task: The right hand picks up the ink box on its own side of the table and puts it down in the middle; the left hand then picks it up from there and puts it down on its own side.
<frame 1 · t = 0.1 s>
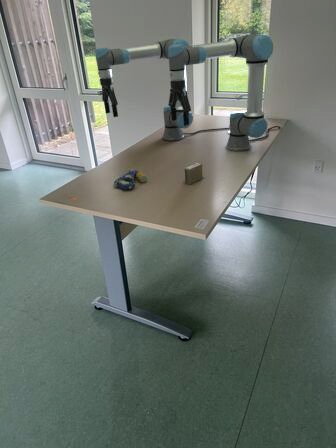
left hand: (111, 114, 206), 28 cm above the table, tool pointing down, fingers open, 13 cm apart
right hand: (180, 122, 178), 28 cm above the table, tool pointing down, fingers open, 13 cm apart
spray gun: (132, 182, 184), on the table
spoon: (234, 127, 260), on the table
ink box: (193, 180, 181), on the table
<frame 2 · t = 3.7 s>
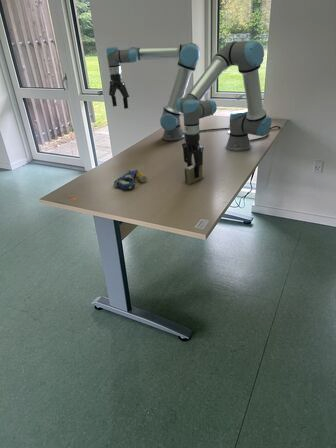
left hand: (120, 107, 229), 27 cm above the table, tool pointing down, fingers open, 13 cm apart
right hand: (193, 176, 179), 3 cm above the table, tool pointing down, fingers closed on ink box, 4 cm apart
ink box: (194, 180, 181), on the table, touching right hand
everything else where it was.
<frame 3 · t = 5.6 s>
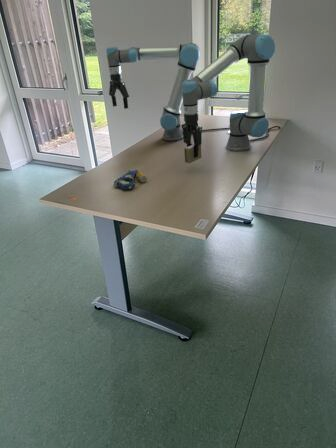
left hand: (120, 107, 229), 27 cm above the table, tool pointing down, fingers open, 13 cm apart
right hand: (193, 155, 187), 9 cm above the table, tool pointing down, fingers closed on ink box, 4 cm apart
ink box: (193, 160, 188), point 7 cm above the table, touching right hand
everything else where it was.
when the right hand's fingers open (4 cm above the table, at t = 7.9 s): ink box drops 1 cm, on the table.
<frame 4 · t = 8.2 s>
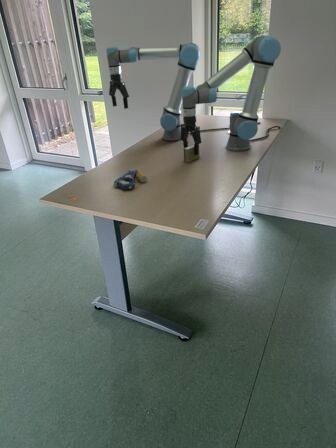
left hand: (120, 107, 229), 27 cm above the table, tool pointing down, fingers open, 13 cm apart
right hand: (191, 153, 205), 4 cm above the table, tool pointing down, fingers open, 8 cm apart
ink box: (191, 159, 207), on the table
everything else where it was.
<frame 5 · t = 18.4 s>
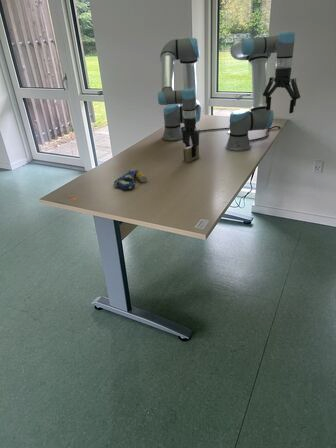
left hand: (191, 155, 206), 3 cm above the table, tool pointing down, fingers closed on ink box, 4 cm apart
right hand: (279, 111, 176), 29 cm above the table, tool pointing down, fingers open, 13 cm apart
ink box: (191, 159, 207), on the table, touching left hand
everything else where it was.
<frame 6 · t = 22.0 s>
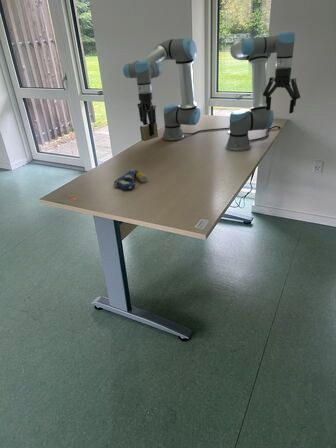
left hand: (149, 134, 195), 19 cm above the table, tool pointing down, fingers closed on ink box, 4 cm apart
right hand: (279, 111, 176), 29 cm above the table, tool pointing down, fingers open, 13 cm apart
ink box: (150, 138, 196), point 16 cm above the table, touching left hand
everything else where it was.
when the left hand's fingers open (4 cm above the table, at t = 25.6 s): ink box drops 1 cm, on the table.
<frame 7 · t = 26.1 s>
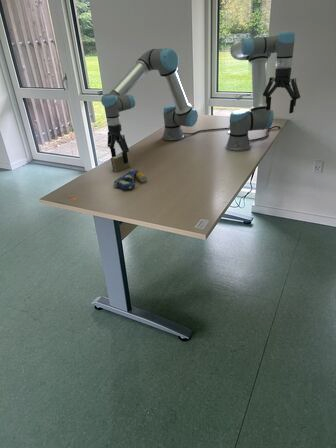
left hand: (120, 160, 201), 5 cm above the table, tool pointing down, fingers open, 11 cm apart
right hand: (279, 111, 176), 29 cm above the table, tool pointing down, fingers open, 13 cm apart
ink box: (121, 169, 203), on the table
everything else where it was.
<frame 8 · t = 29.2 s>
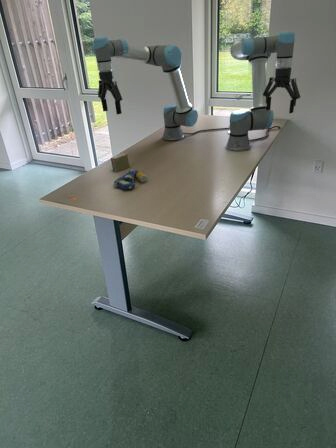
left hand: (112, 112, 186), 34 cm above the table, tool pointing down, fingers open, 13 cm apart
right hand: (279, 111, 176), 29 cm above the table, tool pointing down, fingers open, 13 cm apart
nothing on the table moved.
at the end: ink box inside the target area (0.1 cm from its centre), on the table; ink box tilted 0°; the two hands never held the ink box at the same time; the left hand is holding nothing; the right hand is holding nothing; ink box at rest at the end (0.0 cm/s) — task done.
